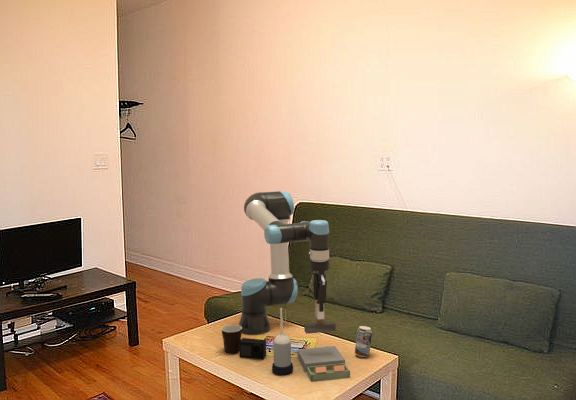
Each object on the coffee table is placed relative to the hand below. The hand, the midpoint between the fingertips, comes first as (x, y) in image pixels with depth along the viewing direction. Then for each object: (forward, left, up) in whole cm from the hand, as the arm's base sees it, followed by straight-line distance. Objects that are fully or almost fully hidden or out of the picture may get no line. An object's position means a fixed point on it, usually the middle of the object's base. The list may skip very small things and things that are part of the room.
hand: (319, 317), depth 203 cm
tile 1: (+13, -4, -15) cm, 20 cm away
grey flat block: (+1, 0, -18) cm, 18 cm away
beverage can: (-2, +19, -19) cm, 27 cm away
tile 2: (+12, +4, -15) cm, 20 cm away
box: (+12, 0, -18) cm, 22 cm away
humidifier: (+5, -16, -19) cm, 25 cm away
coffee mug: (-20, -33, -19) cm, 43 cm away
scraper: (0, 0, -6) cm, 6 cm away
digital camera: (-11, -26, -19) cm, 34 cm away
